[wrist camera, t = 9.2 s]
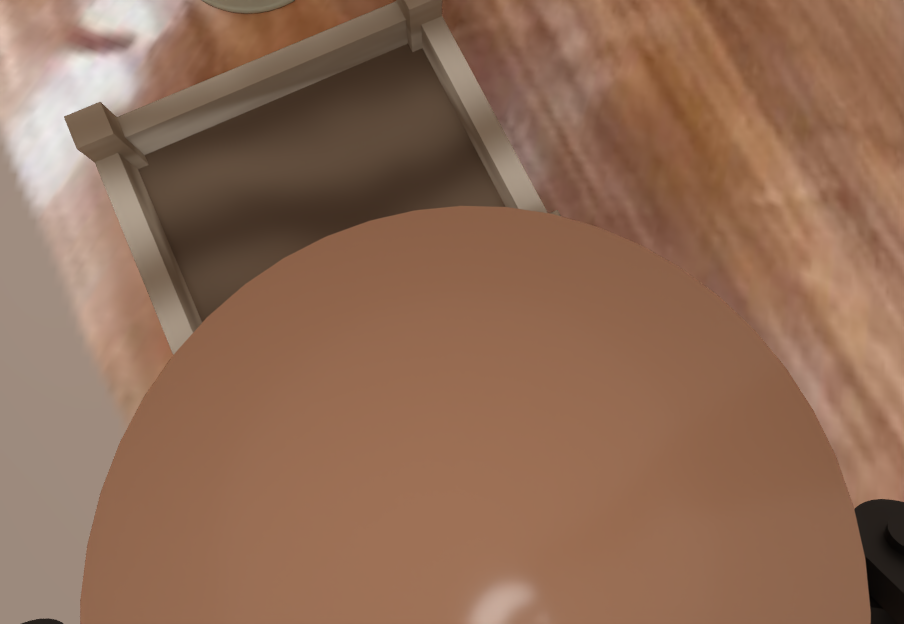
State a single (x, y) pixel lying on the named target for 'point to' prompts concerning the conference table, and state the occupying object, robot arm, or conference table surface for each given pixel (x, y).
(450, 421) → the brown capped bottle
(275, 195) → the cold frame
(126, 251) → the conference table surface
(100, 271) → the conference table surface
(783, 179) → the conference table surface
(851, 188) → the conference table surface
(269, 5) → the can
